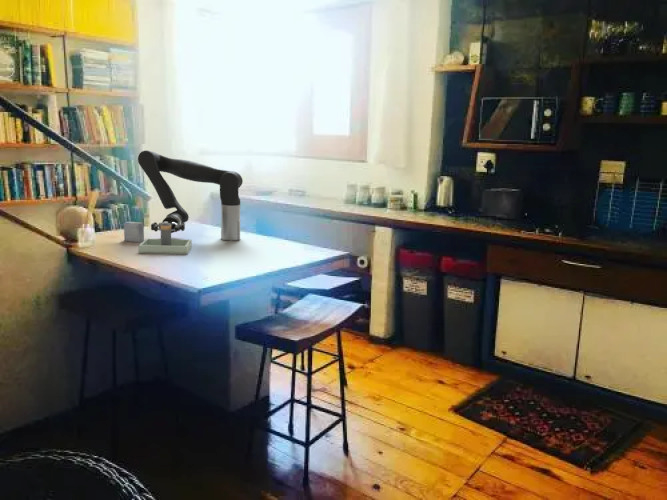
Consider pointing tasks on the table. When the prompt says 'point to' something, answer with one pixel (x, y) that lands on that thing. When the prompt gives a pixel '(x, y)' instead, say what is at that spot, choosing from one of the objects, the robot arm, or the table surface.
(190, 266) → the table surface
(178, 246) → the trough
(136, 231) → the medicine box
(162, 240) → the battery cell
